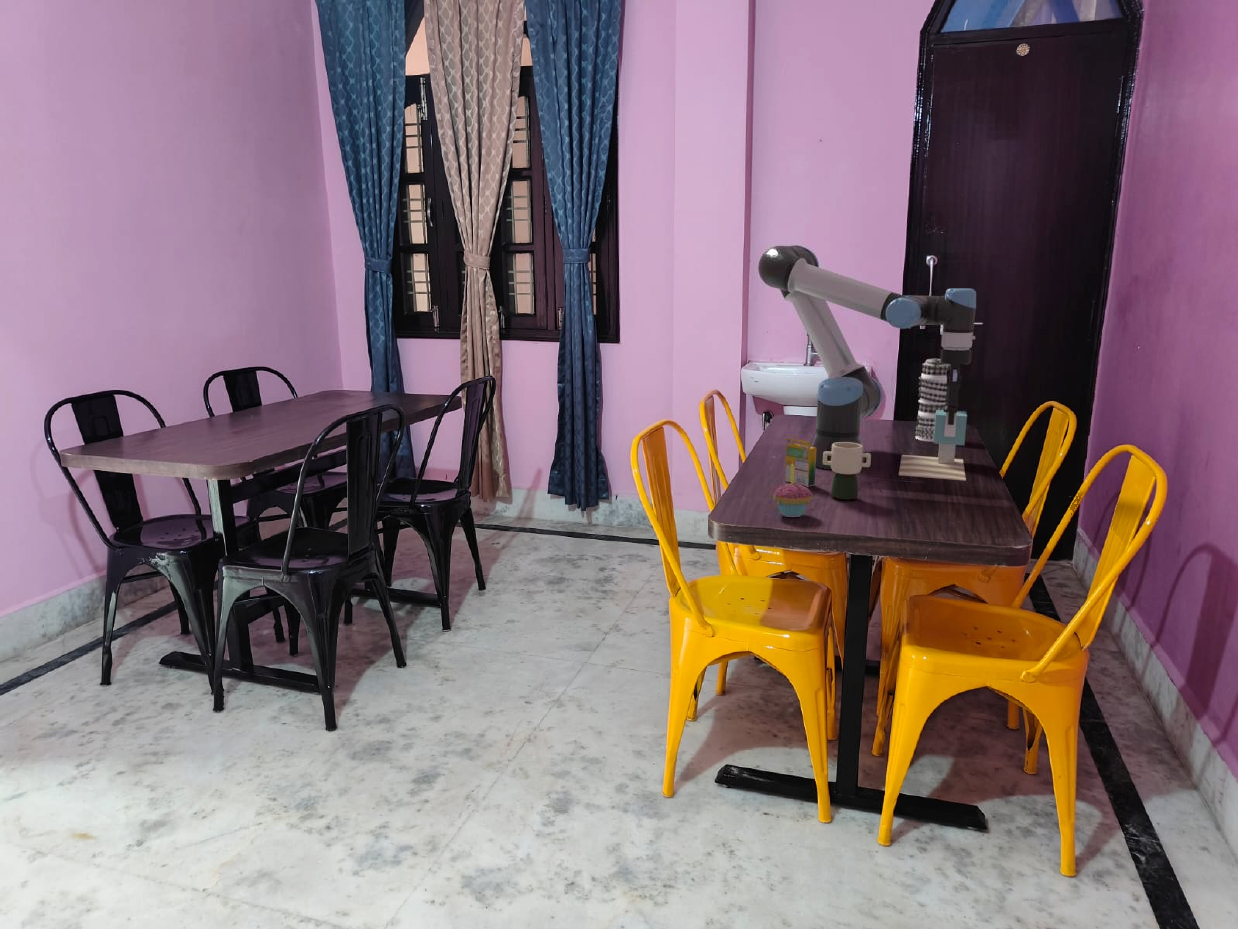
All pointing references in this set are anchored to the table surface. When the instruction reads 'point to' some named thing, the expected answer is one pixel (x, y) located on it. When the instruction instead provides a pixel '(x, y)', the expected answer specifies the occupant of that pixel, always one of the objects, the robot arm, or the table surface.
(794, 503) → the cupcake
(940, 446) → the grey rectangular block
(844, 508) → the table surface
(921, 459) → the base board
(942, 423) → the teal cube
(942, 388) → the decorative candle
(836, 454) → the character mug
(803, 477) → the crayon box
